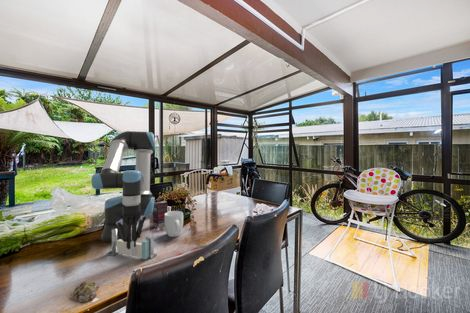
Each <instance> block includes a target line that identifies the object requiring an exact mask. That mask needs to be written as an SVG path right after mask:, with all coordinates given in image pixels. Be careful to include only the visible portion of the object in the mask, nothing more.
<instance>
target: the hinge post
mask: <svg viewBox="0 0 470 313" xmlns="http://www.w3.org/2000/svg"><path fill="white" fill-rule="evenodd" d="M119 254H120V253H117V228H114V229H112V242H111V250H110V251H108V252H106V256H107V255H108V256H112V257H115V256H117V255H119Z"/></svg>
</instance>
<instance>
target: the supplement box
mask: <svg viewBox="0 0 470 313" xmlns="http://www.w3.org/2000/svg"><path fill="white" fill-rule="evenodd" d="M167 212H168V201H166V200H161V201H157V202H156V201H155V202H154V208H153V213H152V226H153V227H154V228H156V227H157V228H160V227H163V226H164V227H165V222H164V221H165V219H164V218H165V213H167Z"/></svg>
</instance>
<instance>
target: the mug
mask: <svg viewBox="0 0 470 313" xmlns="http://www.w3.org/2000/svg"><path fill="white" fill-rule="evenodd" d="M164 219H165V221H164V222H165V225H164V229H165V233H166V235H167V236H168V237H170V238H171V237H172V238H174V237H178V236H180V234H181V233H182V230H183V227H184V212H183V211H181V210H180V211H179V210H172V211H167V213H165V218H164Z"/></svg>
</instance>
